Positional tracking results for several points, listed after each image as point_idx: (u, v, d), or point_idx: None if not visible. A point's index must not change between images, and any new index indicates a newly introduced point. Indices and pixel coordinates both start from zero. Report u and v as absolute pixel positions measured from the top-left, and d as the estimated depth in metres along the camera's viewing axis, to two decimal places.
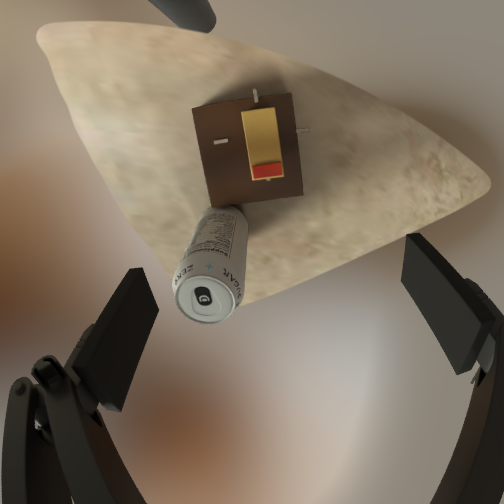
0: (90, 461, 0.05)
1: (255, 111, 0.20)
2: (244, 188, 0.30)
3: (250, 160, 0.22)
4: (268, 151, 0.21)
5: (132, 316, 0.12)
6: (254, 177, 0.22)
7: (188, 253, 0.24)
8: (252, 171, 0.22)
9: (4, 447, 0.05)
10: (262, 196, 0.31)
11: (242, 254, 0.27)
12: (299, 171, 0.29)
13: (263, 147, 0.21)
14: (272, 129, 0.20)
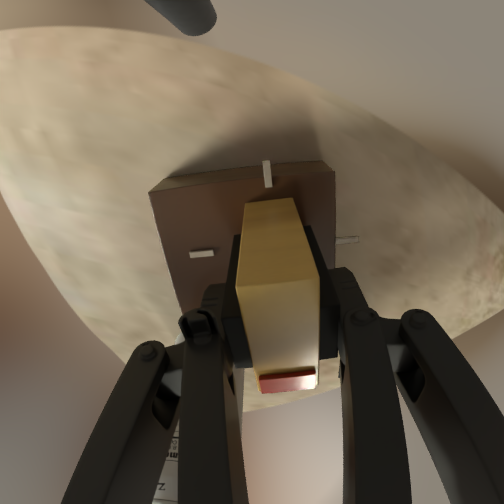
0: (218, 437, 0.06)
1: (270, 286, 0.09)
2: None
3: (255, 368, 0.10)
4: (293, 356, 0.10)
5: None
6: (262, 391, 0.11)
7: None
8: (259, 383, 0.11)
9: (102, 416, 0.06)
10: None
11: None
12: None
13: (283, 350, 0.10)
14: (308, 322, 0.09)
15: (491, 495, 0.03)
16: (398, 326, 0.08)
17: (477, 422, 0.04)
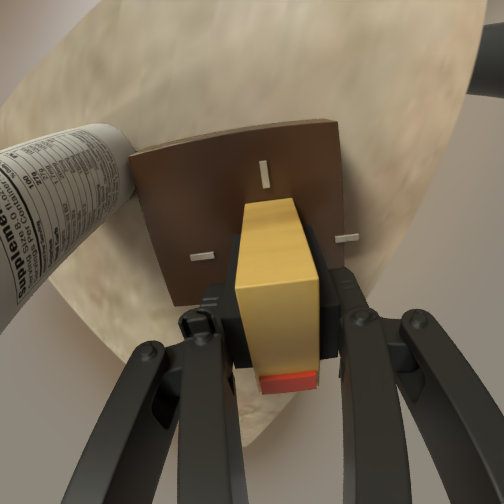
0: (218, 437, 0.06)
1: (270, 288, 0.08)
2: (172, 216, 0.16)
3: (256, 369, 0.10)
4: (293, 356, 0.10)
5: None
6: (263, 392, 0.11)
7: None
8: (259, 384, 0.11)
9: (102, 416, 0.06)
10: (160, 247, 0.17)
11: None
12: None
13: (283, 351, 0.10)
14: (308, 323, 0.09)
15: (491, 495, 0.03)
16: (398, 326, 0.08)
17: (477, 422, 0.04)
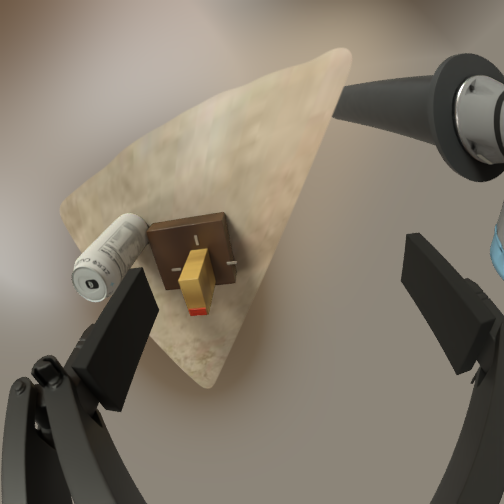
0: (90, 461, 0.05)
1: (186, 280, 0.33)
2: (164, 254, 0.41)
3: (187, 306, 0.35)
4: (197, 301, 0.35)
5: (132, 316, 0.12)
6: (190, 315, 0.36)
7: (114, 258, 0.31)
8: (189, 311, 0.36)
9: (4, 447, 0.05)
10: (160, 266, 0.41)
11: None
12: None
13: (193, 299, 0.35)
14: (198, 290, 0.34)
15: None
16: None
17: None
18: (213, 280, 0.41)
